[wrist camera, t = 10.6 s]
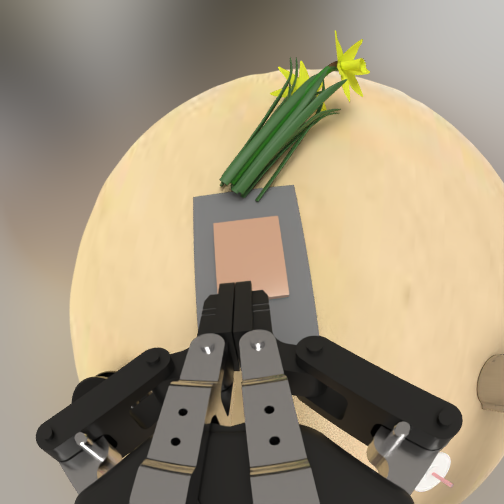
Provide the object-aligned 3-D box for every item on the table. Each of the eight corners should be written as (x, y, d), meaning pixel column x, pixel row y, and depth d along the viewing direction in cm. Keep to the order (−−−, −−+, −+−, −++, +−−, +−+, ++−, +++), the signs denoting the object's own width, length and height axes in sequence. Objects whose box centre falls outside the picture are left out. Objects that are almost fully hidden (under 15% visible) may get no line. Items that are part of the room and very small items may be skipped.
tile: (289, 294, 34) (277, 215, 38) (218, 302, 34) (213, 223, 38) (288, 297, 36) (277, 223, 40) (221, 305, 37) (216, 230, 40)
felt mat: (321, 357, 34) (321, 357, 33) (202, 369, 34) (201, 369, 34) (293, 186, 42) (293, 184, 42) (193, 198, 43) (193, 197, 42)
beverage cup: (385, 447, 28) (430, 481, 15) (419, 430, 28) (472, 454, 15) (388, 475, 26) (429, 514, 13) (421, 459, 26) (469, 488, 13)
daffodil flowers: (190, 167, 46) (300, 48, 45) (255, 216, 50) (351, 92, 49) (189, 151, 30) (335, 8, 29) (285, 225, 34) (399, 66, 33)
